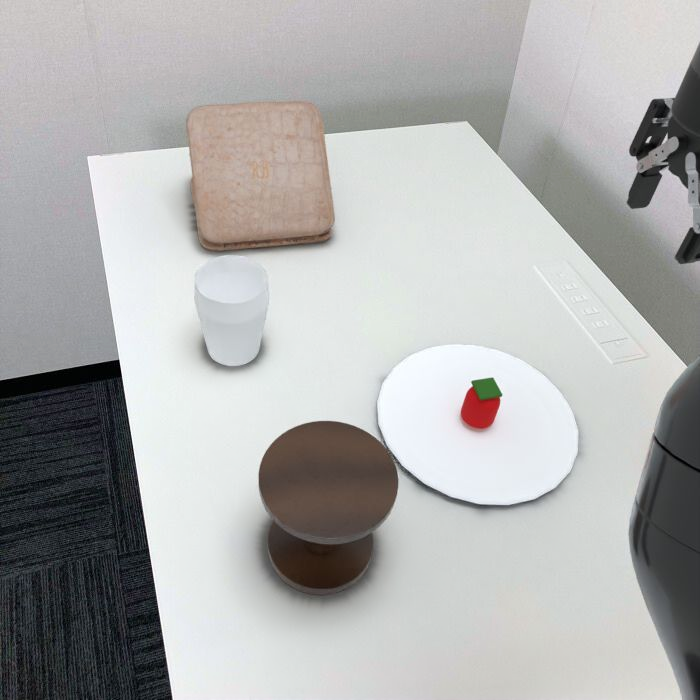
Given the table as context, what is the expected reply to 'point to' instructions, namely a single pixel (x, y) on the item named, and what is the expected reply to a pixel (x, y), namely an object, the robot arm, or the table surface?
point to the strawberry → (481, 403)
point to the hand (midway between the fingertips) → (659, 232)
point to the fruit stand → (325, 503)
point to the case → (259, 174)
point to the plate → (472, 443)
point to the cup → (232, 307)
